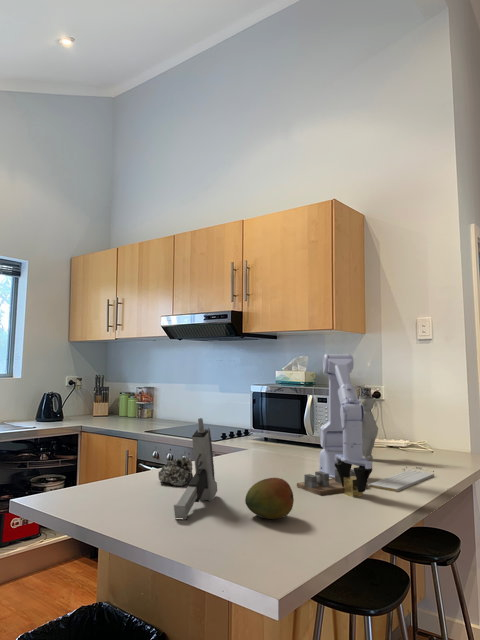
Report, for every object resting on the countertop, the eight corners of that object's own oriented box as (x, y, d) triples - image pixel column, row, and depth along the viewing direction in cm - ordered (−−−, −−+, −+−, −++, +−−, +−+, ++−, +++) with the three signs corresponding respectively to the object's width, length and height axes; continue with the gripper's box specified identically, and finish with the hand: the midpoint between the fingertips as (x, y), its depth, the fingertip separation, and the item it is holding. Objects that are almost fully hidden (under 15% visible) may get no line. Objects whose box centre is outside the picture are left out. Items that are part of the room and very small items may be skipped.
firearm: (164, 452, 117) (197, 411, 141) (174, 539, 122) (204, 486, 146) (181, 453, 116) (212, 412, 140) (191, 541, 121) (219, 487, 144)
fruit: (288, 528, 114) (288, 484, 115) (238, 522, 118) (238, 480, 119) (297, 514, 125) (297, 474, 126) (251, 509, 129) (251, 471, 130)
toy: (368, 455, 213) (367, 387, 216) (387, 458, 207) (385, 387, 210) (346, 460, 200) (345, 388, 203) (365, 463, 194) (364, 388, 197)
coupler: (343, 494, 146) (343, 477, 147) (354, 492, 148) (353, 475, 149) (352, 497, 143) (352, 479, 143) (363, 495, 145) (362, 478, 145)
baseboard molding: (361, 487, 157) (396, 494, 149) (361, 478, 157) (396, 484, 149) (402, 472, 180) (434, 478, 172) (401, 464, 180) (434, 469, 172)
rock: (204, 487, 160) (198, 460, 166) (192, 478, 152) (186, 450, 159) (169, 502, 161) (164, 474, 168) (155, 494, 154) (151, 465, 160)
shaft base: (296, 486, 155) (296, 470, 155) (342, 480, 164) (342, 465, 164) (320, 495, 144) (319, 478, 145) (367, 488, 153) (367, 472, 154)
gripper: (326, 440, 151) (327, 485, 150) (359, 447, 139) (360, 496, 137) (344, 439, 155) (345, 483, 153) (377, 445, 142) (378, 493, 141)
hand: (353, 489), depth 145 cm, fingers open, 6 cm apart
